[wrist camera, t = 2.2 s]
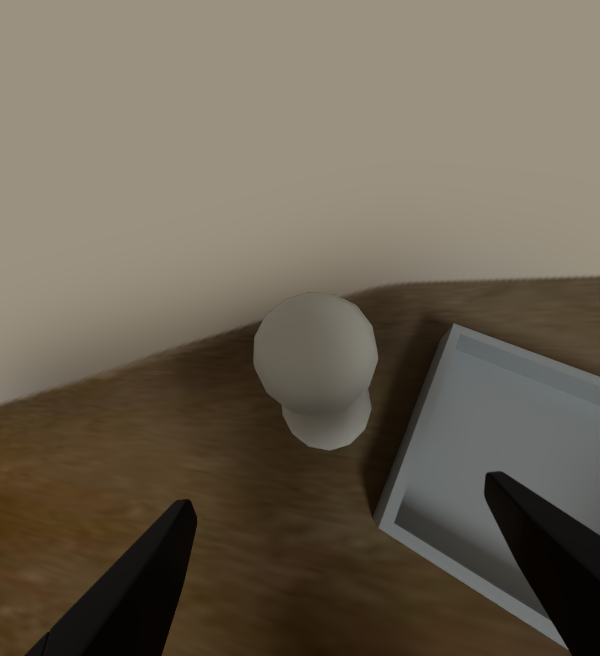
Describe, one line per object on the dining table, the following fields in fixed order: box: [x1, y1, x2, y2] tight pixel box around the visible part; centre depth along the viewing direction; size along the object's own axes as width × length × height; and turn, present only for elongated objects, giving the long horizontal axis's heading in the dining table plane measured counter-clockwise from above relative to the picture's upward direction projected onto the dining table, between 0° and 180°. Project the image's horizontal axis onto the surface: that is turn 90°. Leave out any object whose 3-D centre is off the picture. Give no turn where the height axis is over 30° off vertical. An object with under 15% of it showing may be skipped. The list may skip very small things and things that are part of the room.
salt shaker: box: [253, 292, 378, 451], centre depth 14 cm, size 6×6×13 cm
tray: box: [372, 324, 600, 649], centre depth 16 cm, size 13×13×3 cm
